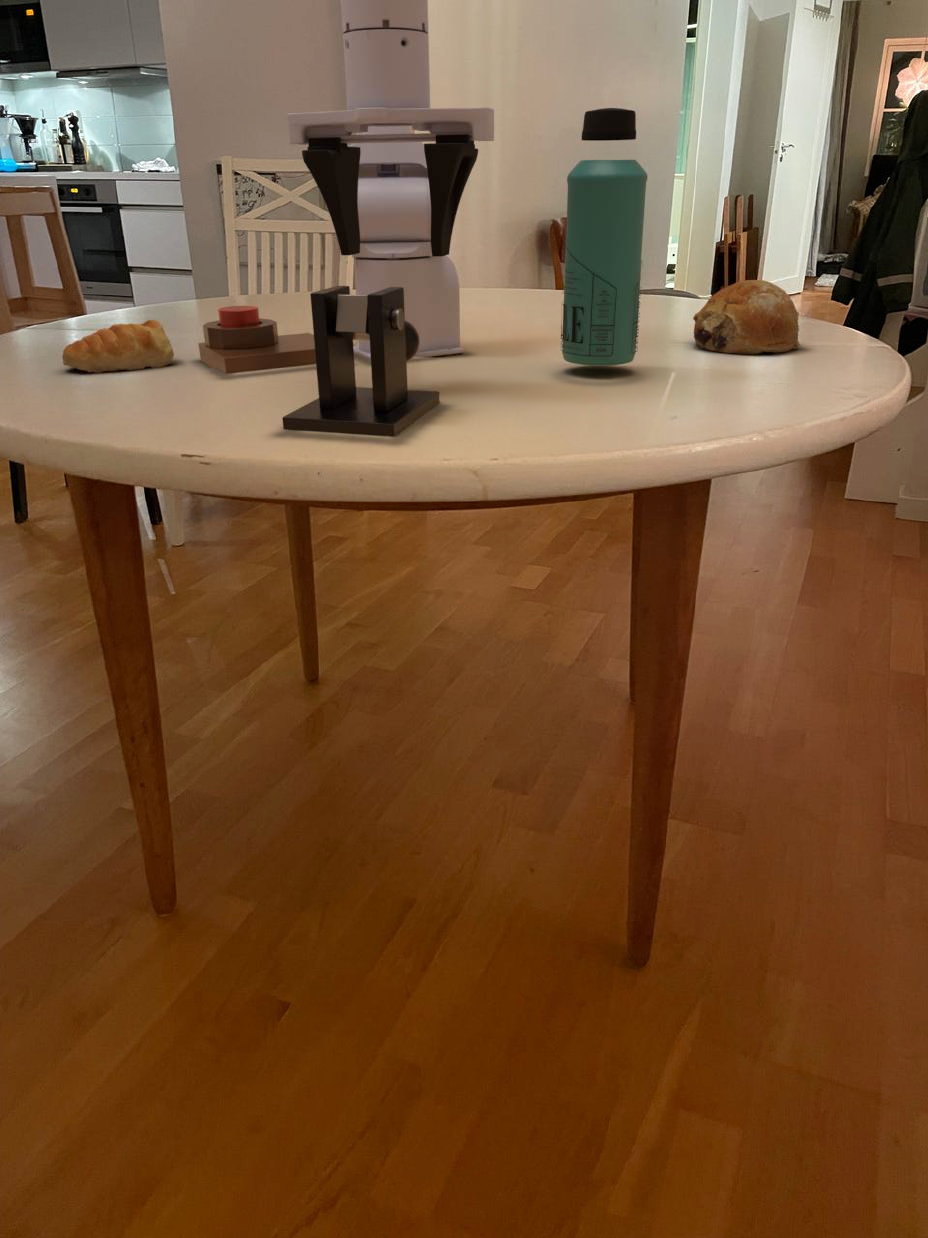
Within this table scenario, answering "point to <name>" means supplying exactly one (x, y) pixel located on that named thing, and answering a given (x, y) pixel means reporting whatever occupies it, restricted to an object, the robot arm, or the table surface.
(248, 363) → the button block
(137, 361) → the pastry
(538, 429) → the table surface
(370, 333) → the bracket
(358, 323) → the lever
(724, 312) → the bread roll
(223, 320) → the button
